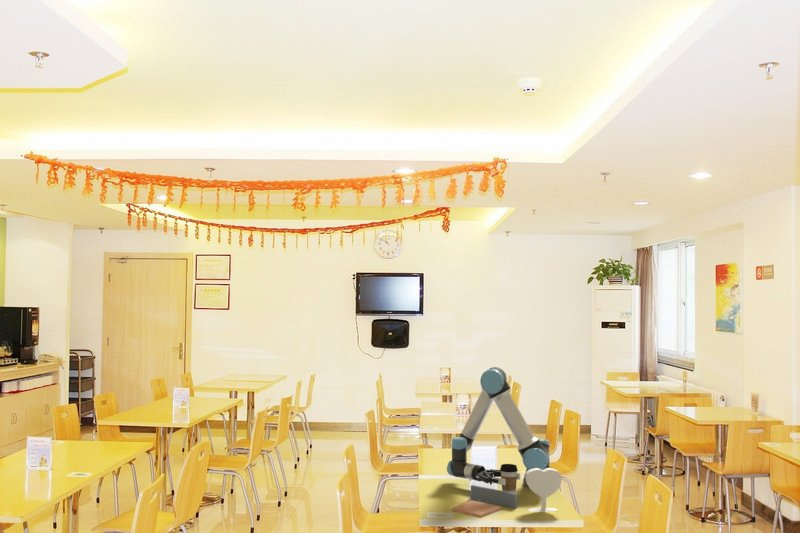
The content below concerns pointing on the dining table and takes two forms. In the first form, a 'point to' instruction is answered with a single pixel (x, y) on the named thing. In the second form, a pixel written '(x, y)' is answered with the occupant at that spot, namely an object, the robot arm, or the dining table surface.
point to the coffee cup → (509, 477)
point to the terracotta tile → (476, 508)
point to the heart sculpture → (543, 485)
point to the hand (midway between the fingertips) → (512, 479)
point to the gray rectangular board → (494, 496)
